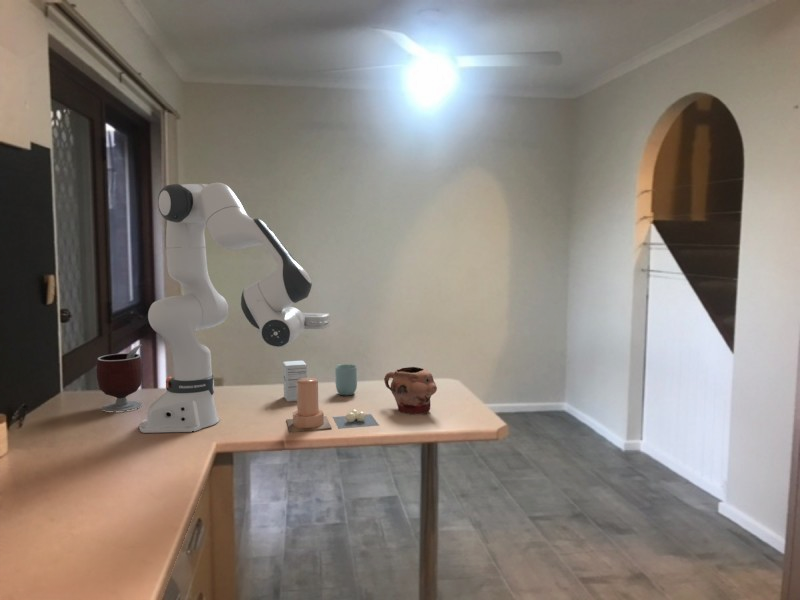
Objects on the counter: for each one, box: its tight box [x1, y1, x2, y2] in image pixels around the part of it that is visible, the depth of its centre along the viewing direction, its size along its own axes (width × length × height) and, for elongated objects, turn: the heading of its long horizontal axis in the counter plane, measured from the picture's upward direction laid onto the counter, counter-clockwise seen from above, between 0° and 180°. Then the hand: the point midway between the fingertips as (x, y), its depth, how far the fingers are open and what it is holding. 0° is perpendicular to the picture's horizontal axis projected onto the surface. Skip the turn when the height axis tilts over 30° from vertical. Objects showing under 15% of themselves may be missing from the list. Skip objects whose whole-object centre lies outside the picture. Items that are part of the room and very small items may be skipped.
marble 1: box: [349, 409, 359, 416], centre depth 191 cm, size 3×3×3 cm
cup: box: [334, 363, 358, 396], centre depth 223 cm, size 8×8×10 cm
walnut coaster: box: [286, 416, 332, 433], centre depth 186 cm, size 12×12×1 cm
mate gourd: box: [96, 344, 144, 412], centre depth 208 cm, size 16×14×20 cm
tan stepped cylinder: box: [292, 377, 325, 428], centre depth 185 cm, size 9×9×13 cm
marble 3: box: [356, 411, 366, 422], centre depth 189 cm, size 3×3×3 cm
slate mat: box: [332, 413, 380, 430], centre depth 189 cm, size 12×12×1 cm
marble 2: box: [345, 412, 356, 423], centre depth 188 cm, size 3×3×3 cm
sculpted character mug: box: [384, 366, 438, 415], centre depth 201 cm, size 20×12×14 cm, turn 59°
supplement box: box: [282, 360, 308, 402], centre depth 218 cm, size 7×7×13 cm
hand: (297, 316), depth 184 cm, fingers open, 8 cm apart
